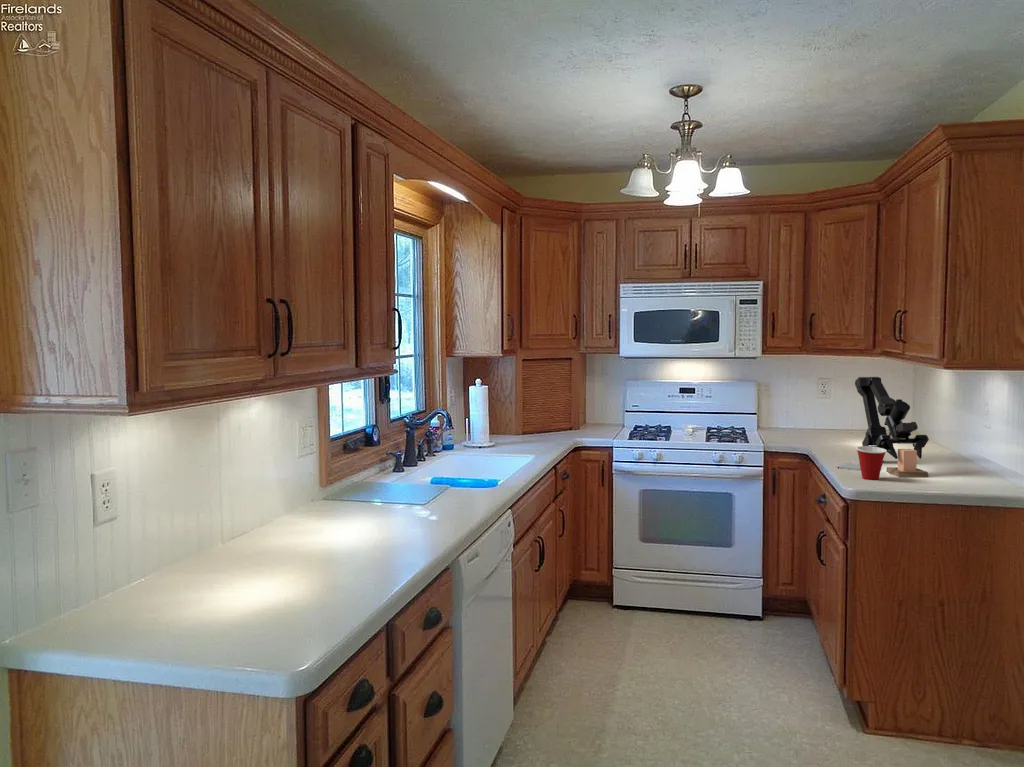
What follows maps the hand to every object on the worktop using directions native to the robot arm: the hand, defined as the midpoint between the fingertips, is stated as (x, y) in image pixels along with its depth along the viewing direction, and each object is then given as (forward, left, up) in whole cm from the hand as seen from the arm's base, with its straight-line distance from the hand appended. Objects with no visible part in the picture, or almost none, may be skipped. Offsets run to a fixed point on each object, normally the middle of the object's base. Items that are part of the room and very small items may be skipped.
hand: (908, 458), depth 293 cm
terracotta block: (-1, -1, -7) cm, 7 cm away
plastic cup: (+16, -10, -7) cm, 20 cm away
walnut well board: (-1, -1, -7) cm, 7 cm away
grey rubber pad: (-6, -22, -7) cm, 24 cm away
